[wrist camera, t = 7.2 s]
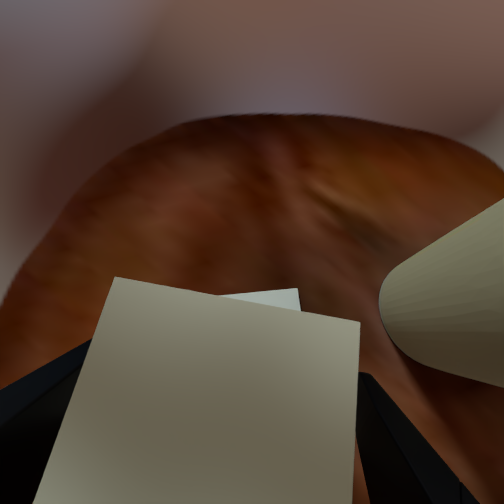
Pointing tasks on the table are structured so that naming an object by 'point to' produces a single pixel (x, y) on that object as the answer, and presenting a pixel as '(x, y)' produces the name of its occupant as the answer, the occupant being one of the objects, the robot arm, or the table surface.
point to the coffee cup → (452, 301)
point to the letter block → (208, 405)
